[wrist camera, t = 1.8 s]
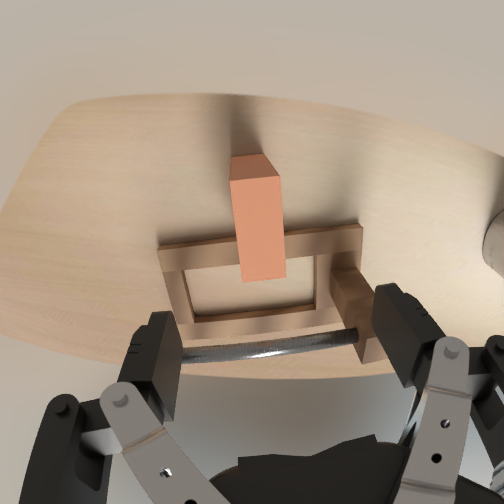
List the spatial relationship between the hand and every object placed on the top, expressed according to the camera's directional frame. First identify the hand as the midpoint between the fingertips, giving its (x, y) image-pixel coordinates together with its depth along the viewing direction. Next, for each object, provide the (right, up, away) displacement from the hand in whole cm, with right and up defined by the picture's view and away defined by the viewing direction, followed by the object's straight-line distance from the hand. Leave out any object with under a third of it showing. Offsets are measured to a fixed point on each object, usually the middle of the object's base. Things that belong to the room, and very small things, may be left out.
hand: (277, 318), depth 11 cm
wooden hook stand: (0, -1, +22) cm, 22 cm away
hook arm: (0, -5, +13) cm, 14 cm away
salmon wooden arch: (-1, +8, +17) cm, 19 cm away
